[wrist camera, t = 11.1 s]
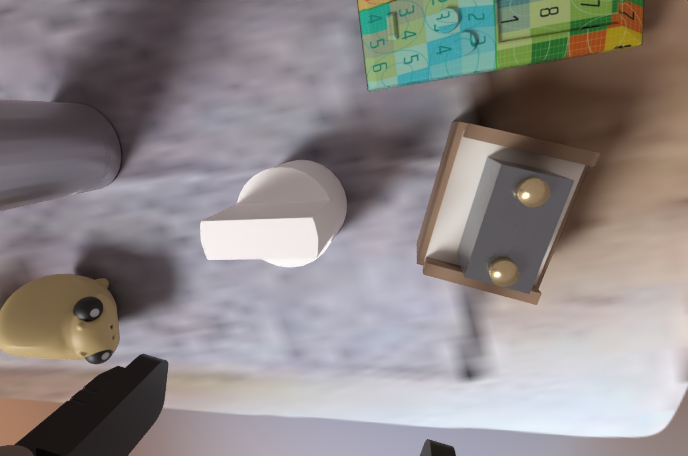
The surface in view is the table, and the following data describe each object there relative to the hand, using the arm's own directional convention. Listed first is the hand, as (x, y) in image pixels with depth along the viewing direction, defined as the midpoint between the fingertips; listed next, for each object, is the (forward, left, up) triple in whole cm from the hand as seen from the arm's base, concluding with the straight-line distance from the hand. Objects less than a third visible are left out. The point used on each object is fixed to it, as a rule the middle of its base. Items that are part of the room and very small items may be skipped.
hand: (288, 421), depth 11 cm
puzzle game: (+4, +20, -28) cm, 35 cm away
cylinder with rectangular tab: (-7, -1, -28) cm, 29 cm away
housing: (+10, +4, -22) cm, 24 cm away
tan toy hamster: (-29, -19, -28) cm, 45 cm away
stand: (+10, +4, -28) cm, 30 cm away
